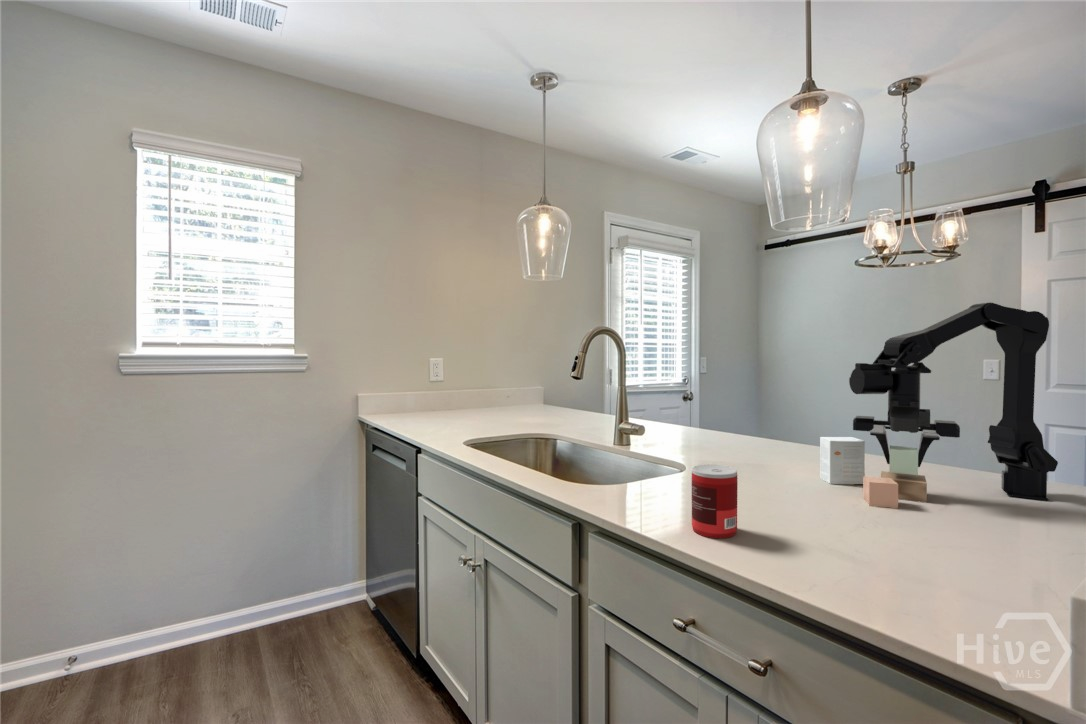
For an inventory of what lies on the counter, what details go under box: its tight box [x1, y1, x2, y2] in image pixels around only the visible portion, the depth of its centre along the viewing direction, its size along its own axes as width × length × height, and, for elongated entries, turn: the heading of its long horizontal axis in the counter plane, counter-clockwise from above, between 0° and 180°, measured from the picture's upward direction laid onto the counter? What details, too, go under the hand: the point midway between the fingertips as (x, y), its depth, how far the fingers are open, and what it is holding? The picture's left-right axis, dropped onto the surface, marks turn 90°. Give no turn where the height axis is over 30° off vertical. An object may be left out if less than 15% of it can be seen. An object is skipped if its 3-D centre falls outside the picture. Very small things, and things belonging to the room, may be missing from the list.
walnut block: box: [880, 470, 928, 503], centre depth 112 cm, size 8×8×4 cm
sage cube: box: [888, 445, 919, 475], centre depth 112 cm, size 5×5×5 cm
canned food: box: [691, 464, 739, 539], centre depth 91 cm, size 8×8×11 cm
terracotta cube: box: [862, 476, 899, 509], centre depth 106 cm, size 5×5×5 cm
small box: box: [819, 436, 866, 485], centre depth 124 cm, size 8×6×10 cm
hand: (903, 465), depth 112 cm, fingers closed on sage cube, 5 cm apart
